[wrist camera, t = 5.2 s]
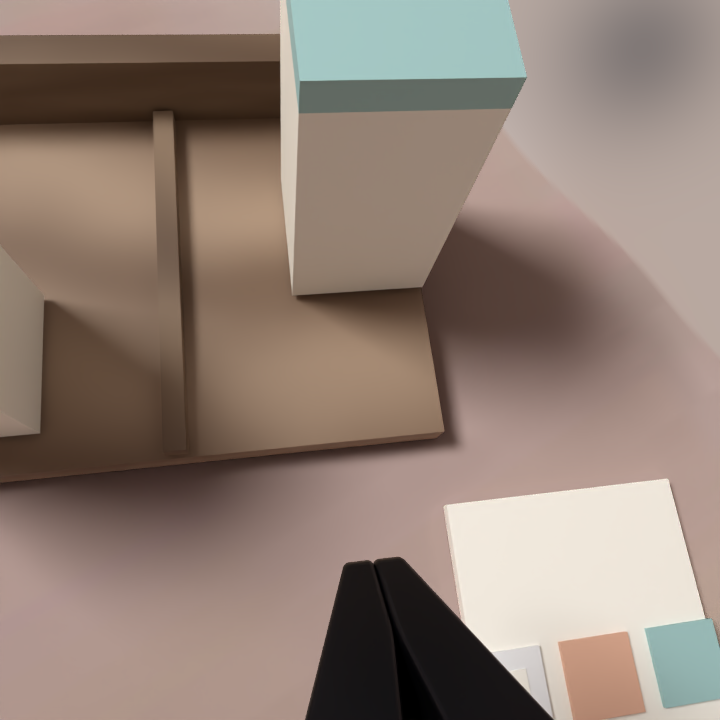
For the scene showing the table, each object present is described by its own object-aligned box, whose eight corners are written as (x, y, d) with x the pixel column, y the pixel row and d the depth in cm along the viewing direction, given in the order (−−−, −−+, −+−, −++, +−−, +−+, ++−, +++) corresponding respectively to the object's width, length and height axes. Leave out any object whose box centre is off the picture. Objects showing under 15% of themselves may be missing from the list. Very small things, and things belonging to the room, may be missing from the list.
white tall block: (422, 287, 19) (526, 77, 11) (292, 295, 19) (299, 81, 11) (404, 175, 21) (485, -90, 12) (281, 179, 20) (279, -95, 12)
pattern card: (763, 859, 17) (779, 869, 16) (504, 917, 16) (512, 930, 15) (663, 479, 20) (674, 477, 19) (440, 506, 19) (444, 504, 18)
